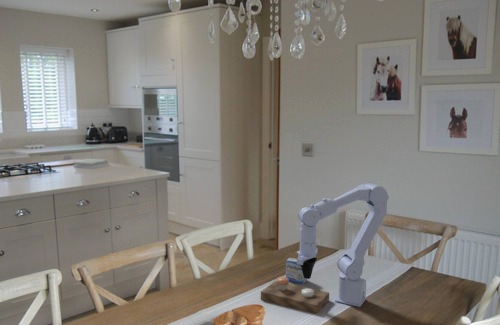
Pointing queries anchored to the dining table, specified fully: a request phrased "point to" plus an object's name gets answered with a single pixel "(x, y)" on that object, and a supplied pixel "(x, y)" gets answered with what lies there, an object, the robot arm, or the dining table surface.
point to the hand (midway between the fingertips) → (307, 277)
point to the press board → (295, 297)
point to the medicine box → (294, 271)
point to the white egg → (307, 293)
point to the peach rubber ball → (282, 282)
